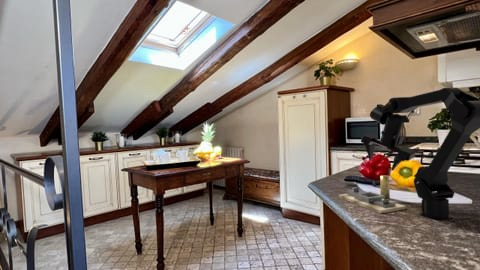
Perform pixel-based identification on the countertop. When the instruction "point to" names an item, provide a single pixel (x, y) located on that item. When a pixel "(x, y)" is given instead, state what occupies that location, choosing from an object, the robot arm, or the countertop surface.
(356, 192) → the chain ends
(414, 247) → the countertop surface
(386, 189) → the brass pin
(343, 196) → the wooden board
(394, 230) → the countertop surface
